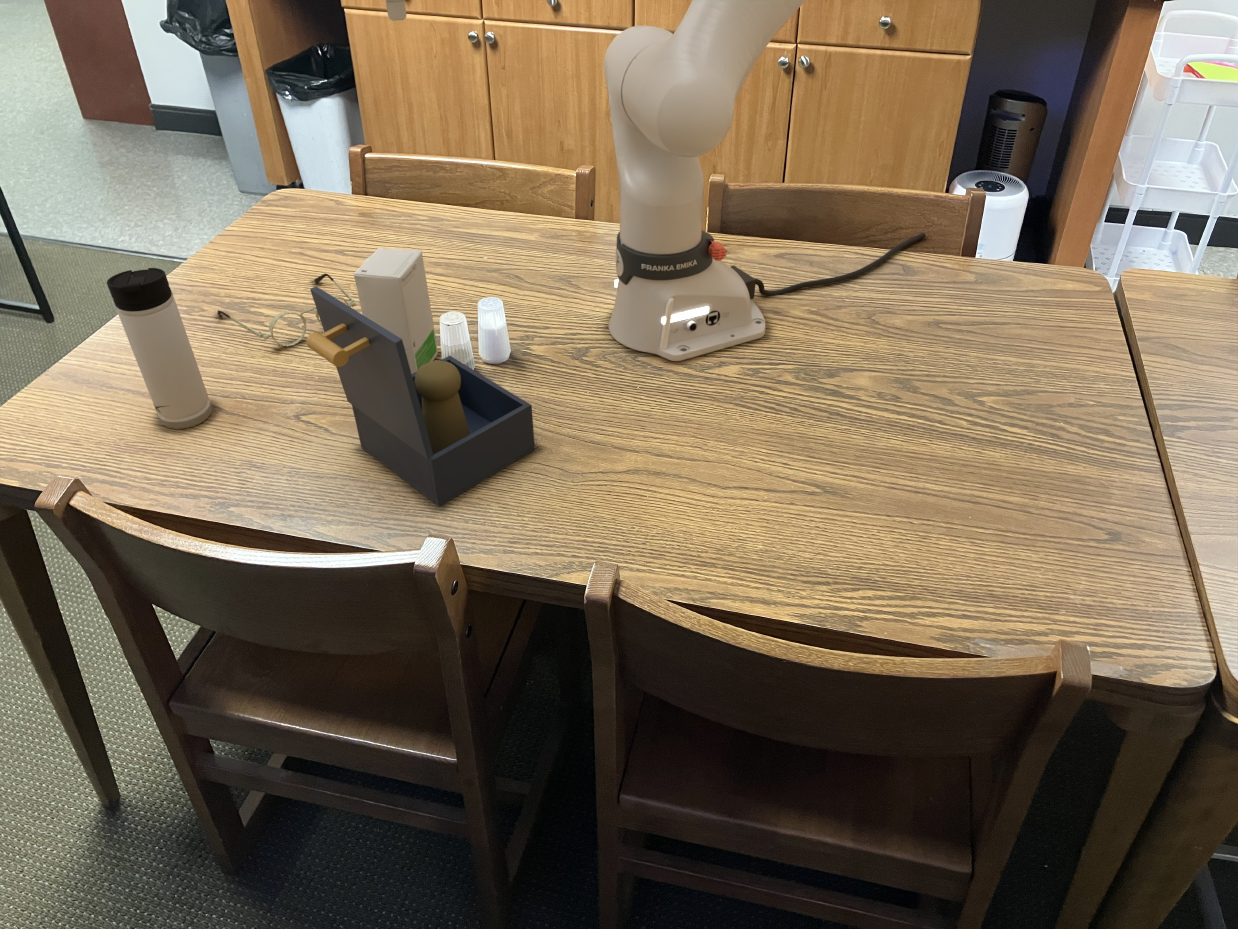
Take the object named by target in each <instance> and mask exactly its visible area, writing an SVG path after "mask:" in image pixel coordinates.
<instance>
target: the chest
mask: <svg viewBox="0 0 1238 929" xmlns="http://www.w3.org/2000/svg"><path fill="white" fill-rule="evenodd" d="M438 361H446V362H449V363H451V364H453V365H454V366H455V367H456V368H457V369H458V371H459V373H460V376H461V385H460V389H459V390H458V394H459V397H460V400H461V404H462V407H463V411H464V414H465V417H466V421H467V424H468V427H469V431H470V435H468V436H467V437H465V438H463V439H461V440H459V441H458V442H456V443H454V444H452V445H450V446H449V447H447V448H445V449H443V450H441V451H439V452H438V453H436V454H434V455H433V456H432V457H430V458H429V459H427V458H426V457H424V456H423V455H421V454H420V453H419V452H417V451H416V450H414V449H413V448H412V447H410V446H409V445H408V444H406V443H405V442H403V441H402V440H401V439H399V438H398V437H396V436H395V435H394V434H392V433H391V432H389V431H388V430H387V429H385V428H384V427H382V426H381V425H380V424H378V423H377V422H376V421H374V420H373V419H371V418H370V417H369V416H367V415H366V414H364V413H363V412H362V411H360V410H359V409H357V408H356V407H355V406H353V405H352V404H351V408H352V412H353V416H354V421H355V425H356V429H357V434H358V438H359V443H360V447H361V449H362V450H363V451H365V452H366V453H367V454H368V455H370V456H371V457H373V459H375V460H377V461H378V462H379V463H380V464H382V465H383V466H384V467H386V468H387V469H388V470H390V471H391V472H392V473H393V474H395V475H396V476H397V477H399V478H400V479H402V480H403V481H404V482H406V483H407V484H408V485H410V486H411V487H412V488H413V489H414V490H416V491H417V492H419V493H420V494H421V495H422V496H424V497H425V498H427V499H428V500H429V501H431V502H432V503H433V504H435V505H436V506H437V507H438V508H440V507H442V506H443V505H445V504H447V503H449V502H450V501H453V499H455V498H457V497H459V496H460V495H462V494H463V493H465V492H467V491H468V490H470V489H473V487H476V486H477V485H478V484H480V483H482V482H483V481H485V480H487V479H489V478H490V477H492V476H494V475H495V474H497V473H499V472H500V471H502V470H504V469H506V468H507V467H509V466H510V465H512V464H514V463H515V462H517V461H519V460H521V459H522V458H523V457H526V456H527V455H530V454H531V453H532V452H534V451H536V446H535V432H534V431H535V430H534V421H533V418H534V417H533V410H532V409H533V408H532V406H533V405H532V404H530V402H527V401H525V400H524V399H523V398H521V397H520V396H517V394H514V393H512V392H511V391H509V390H508V389H506V388H504V387H502V386H501V385H499V384H498V383H496V382H495V381H492V380H491V379H489V378H488V377H486V376H484V375H483V374H482V373H479V372H478V371H476V370H474V369H473V368H471V367H470V366H468V365H467V364H465V363H463V362H462V361H460V360H458V359H456V358H455V357H453V356H451V355H448V356H445V357H444V358H442V359H439V360H438ZM415 374H416V372H415V373H413V374H412V378H413V381H414V385H415ZM415 389H416V387H415ZM416 392H417V396H418V400H419V404H420V407H421V411H422V396H421V395H420V394H419V393H418V391H417V389H416Z"/></svg>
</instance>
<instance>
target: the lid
mask: <svg viewBox="0 0 1238 929" xmlns="http://www.w3.org/2000/svg"><path fill="white" fill-rule="evenodd" d="M309 290H310V294H311V296H312V299H313V302H314V305H315V307H316V308H317V311H318V314H319V320H321V321H320V322H321V324H322V325H321V327H322V330H323V333H320V332H317V331H314V332H311V333H309V335H308V336H307V338H306V341H305V342H306V347H308V349H310V350H312V351H313V352H315V353H316V354H317V355H319V356H320V357H321V358H323V359H325V360H326V361H328V362H329V363H330V364H332V365H334V366H335V367H336V371H337V375H338V377H339V379H340V382H341V386H342V389H343V391H344V394H345V397H346V401H347V402H348V403H349V404H350V405H351V406H352V405H353V406H355V407H356V408H357V409H359V410H360V411H362V412H363V413H364V414H366V415H367V416H369V417H370V418H371V419H373V420H374V421H376V422H377V423H378V424H380V425H381V426H382V427H384V428H385V429H387V430H388V431H389V432H391V433H392V434H394V435H395V436H396V437H398V438H399V439H401V440H402V441H403V442H405V443H406V444H408V445H409V446H410V447H412V448H413V449H414V450H416V451H417V452H419V453H420V454H421V455H423V456H424V457H426V458H427V459H429V458H430V457H432V456H433V452H432V448H431V444H430V441H429V437H428V433H427V430H426V426H425V422H424V418H423V415H422V411H421V407H420V404H419V400H418V396H417V392H416V389H415V385H414V381H413V378H412V374H411V370H410V367H409V363H408V359H407V355H406V352H405V348H404V344H403V341H402V339H401V338H399V337H398V336H396V335H395V334H393V333H391V332H390V331H388V330H386V329H385V328H383V327H382V326H380V325H378V324H377V323H375V322H373V321H372V320H370V319H369V318H367V317H365V316H364V315H362V312H359V311H357V310H356V309H354V308H353V307H352V306H351V307H349V306H348V305H347V303H345V302H344V301H341V300H340V299H339V298H337V297H333V296H331V295H332V294H330V293H328V292H327V291H325V290H323V289H322V288H320V287H319V286H317V285H316V286H313V287H312V288H310V289H309Z"/></svg>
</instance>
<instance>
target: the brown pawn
mask: <svg viewBox="0 0 1238 929" xmlns="http://www.w3.org/2000/svg"><path fill="white" fill-rule="evenodd" d="M460 385H461V376H460V373H459V371H458V369H457V368H456V367H455V366H454V365H453V364H451V363H449V362H446V361H439V360H433V361H432V362H428V363H426V364H424V365H422V366H421V367H420V368H419V369H418V370H417V372H416V374H415V387H416V389H417V391H418V393H419V394H420V395H421V396H422V415H423V418H424V422H425V426H426V430H427V433H428V437H429V441H430V444H431V448H432V452H433V455H434V454H436V453H438V452H439V451H441V450H443V449H445V448H447V447H449V446H450V445H452V444H454V443H456V442H458V441H459V440H461V439H463V438H465V437H467V436H468V435H470V431H469V427H468V424H467V421H466V417H465V414H464V411H463V407H462V404H461V400H460V397H459V394H458V390H459V389H460Z"/></svg>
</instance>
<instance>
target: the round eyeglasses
mask: <svg viewBox="0 0 1238 929" xmlns="http://www.w3.org/2000/svg"><path fill="white" fill-rule="evenodd" d="M326 277H327V278H328V279H329V280H331V281H332V283H334V284H335V286H336V287H337V288H338V289H339V290H340V292H342V293H343V295H344V296H345V297H346V298H347V299H348V301H347V300H346V299H345V298H344V297H343V296H341V295H339V294H335V293H332V294H330V295H331V296H333V297H335V298H337V299H342V301H343V303H344V304H346V305H348V306H349V307H351V308H353V307H356V306H357V305H358V304H357V302H356V301H355V300H354V298H353V297H352V296H351V295H350V294H349V293H347V291H346V290H345V289H344V288H343V287H342V286H341V285H340V284H339V283H338V282H337V281H336V280H335V278H333V277H332V276H331V275H330V274H328V273H323V274H321V275H319V276H318V277H316V278H314V283H315V284H319V283H320V282H321V281H322V280H324V278H326ZM315 310H316V311H315ZM311 311H315V318H316V320H317V322H318V323H319V325H320V326H322V323H321V320H320V317H319V314H318V311H317V308H316V306H315V307H311V308H309V309H305V310H302V312H300V314H299V313H297V312H295V311H282V312H279V313H277V314H276V315H274V316H273V318H271V320H270V322H269V324H268V331H269V332H270V333H269V334H268V333H267V332H264V333H262V332H261V331H260V330H259V331H257V330H255V329H253V328H252V327H250V326H248V325H247V324H244V323H243V322H242V321H240V320H238V319H236V318H235V317H233V316H231V315H228V314H227V313H226V312H225V311H222V310H219V309H218V310H217V315H218V317H220V318H222V317H223V316H225V317H226V318H228V319H230V321H233V322H234V323H236V324H237V325H239V326H240V327H242V328H243V329H245V330H246V331H248V332H250V333H251V334H253V335H254V336H256V337H258V338H260V339H263V340H264V341H265V340H269V338H271V339H272V340H273V341H274V342H275V343H276V344H277V347H292V346H295V345H297V344H298V343H300V342H301V341H302V340H303V339H304V337H305V335H306V332H307V323H306V322H307V321H306V318H305V316H303V315H304V314H305V313H308V312H311ZM286 315H296V316H298V317H300V319H301V320H302V323H303V325H301V329H303V331H302V333H301V335H300V337H299V338H298V339H297V340H295V341H292V342H289V343H287V342H285V343H284V342H279V341H277V340H276V339H275V337H274V327H275V325H276V323H277V321H278V320H279V319H280V318H282V317H284V316H286Z"/></svg>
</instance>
